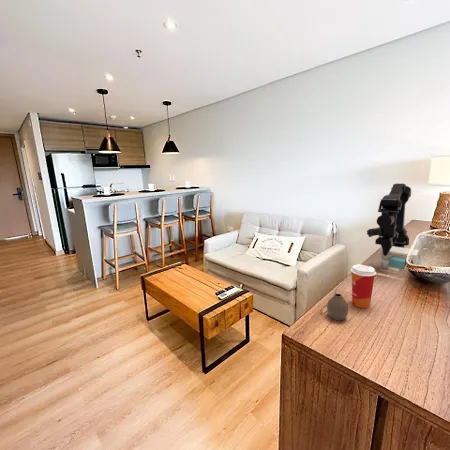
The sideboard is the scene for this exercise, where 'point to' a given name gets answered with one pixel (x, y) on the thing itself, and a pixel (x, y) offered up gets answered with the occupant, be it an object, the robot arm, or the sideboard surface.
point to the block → (397, 262)
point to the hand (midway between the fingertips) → (385, 254)
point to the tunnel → (405, 252)
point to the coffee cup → (362, 285)
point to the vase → (337, 307)
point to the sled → (386, 264)
